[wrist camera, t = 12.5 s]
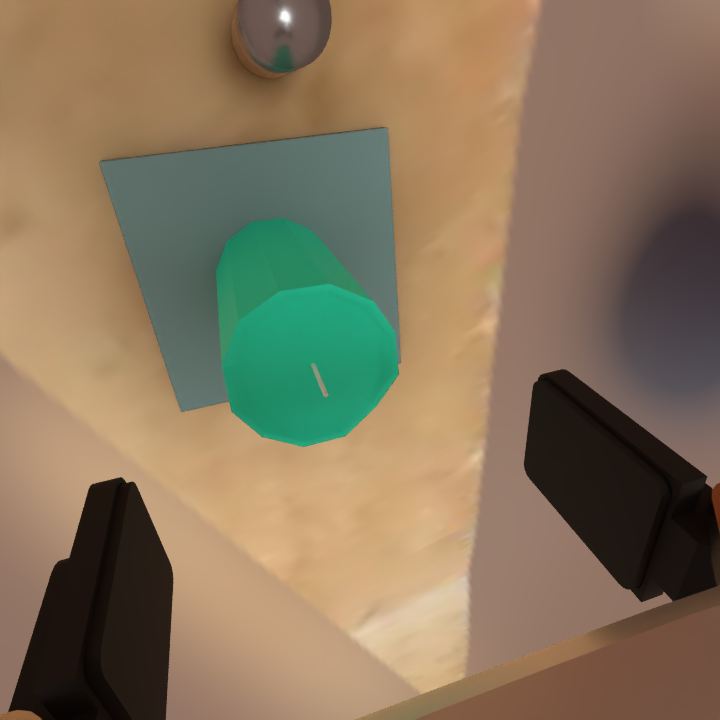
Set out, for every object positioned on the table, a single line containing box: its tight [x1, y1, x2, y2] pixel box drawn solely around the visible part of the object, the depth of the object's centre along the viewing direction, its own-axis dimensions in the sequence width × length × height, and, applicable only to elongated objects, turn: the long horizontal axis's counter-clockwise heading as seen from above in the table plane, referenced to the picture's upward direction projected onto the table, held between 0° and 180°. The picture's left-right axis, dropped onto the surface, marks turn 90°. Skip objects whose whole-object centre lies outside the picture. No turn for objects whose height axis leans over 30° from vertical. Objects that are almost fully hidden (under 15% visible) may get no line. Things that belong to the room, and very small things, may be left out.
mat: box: [99, 127, 401, 412], centre depth 25 cm, size 13×13×1 cm
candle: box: [216, 218, 399, 447], centre depth 20 cm, size 6×6×12 cm
